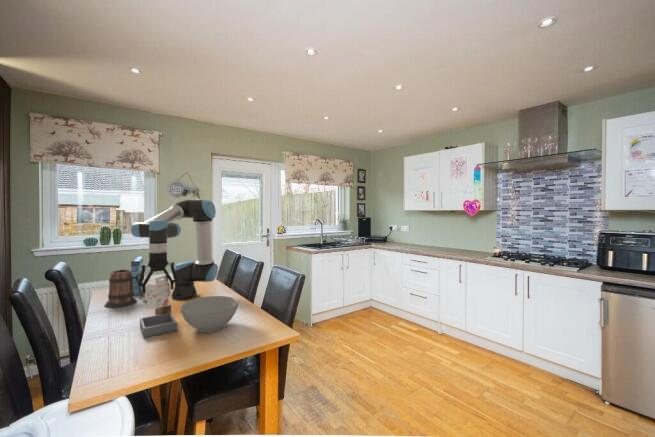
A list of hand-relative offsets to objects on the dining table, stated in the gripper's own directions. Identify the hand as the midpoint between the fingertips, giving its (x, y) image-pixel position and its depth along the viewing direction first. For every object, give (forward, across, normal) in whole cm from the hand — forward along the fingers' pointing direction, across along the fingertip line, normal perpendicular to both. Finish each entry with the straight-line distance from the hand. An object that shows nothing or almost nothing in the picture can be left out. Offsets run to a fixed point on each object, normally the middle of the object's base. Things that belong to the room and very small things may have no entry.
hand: (158, 297), depth 143 cm
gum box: (+15, -2, +82) cm, 83 cm away
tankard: (+16, -9, +56) cm, 58 cm away
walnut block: (+15, +4, +13) cm, 20 cm away
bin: (+15, 0, 0) cm, 15 cm away
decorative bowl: (+16, +21, -12) cm, 29 cm away
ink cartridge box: (+4, 0, 0) cm, 4 cm away
